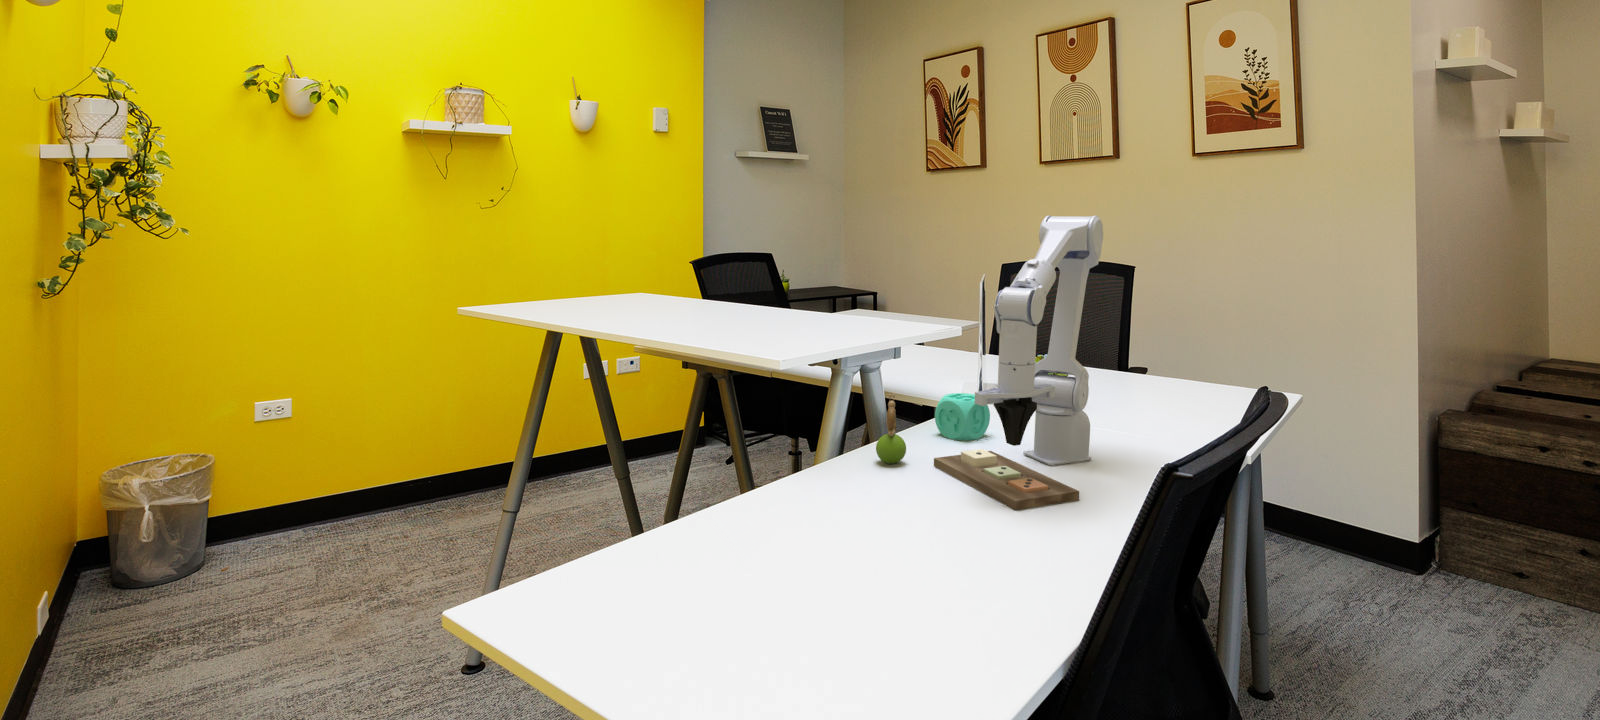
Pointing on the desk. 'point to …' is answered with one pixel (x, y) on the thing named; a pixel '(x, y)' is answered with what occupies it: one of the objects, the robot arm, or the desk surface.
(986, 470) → the sage button
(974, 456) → the cream button
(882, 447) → the green wooden maraca
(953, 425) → the decorative dice
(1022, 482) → the terracotta button
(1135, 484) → the desk surface
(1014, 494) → the button board
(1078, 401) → the robot arm
